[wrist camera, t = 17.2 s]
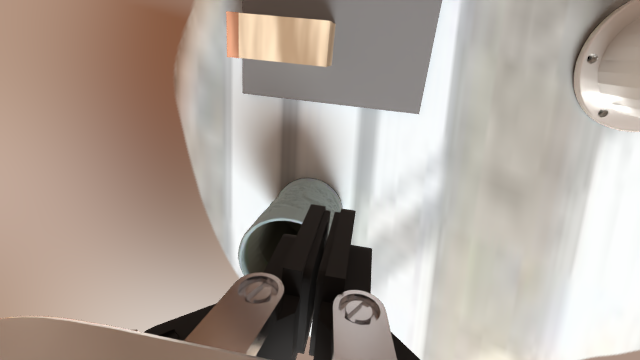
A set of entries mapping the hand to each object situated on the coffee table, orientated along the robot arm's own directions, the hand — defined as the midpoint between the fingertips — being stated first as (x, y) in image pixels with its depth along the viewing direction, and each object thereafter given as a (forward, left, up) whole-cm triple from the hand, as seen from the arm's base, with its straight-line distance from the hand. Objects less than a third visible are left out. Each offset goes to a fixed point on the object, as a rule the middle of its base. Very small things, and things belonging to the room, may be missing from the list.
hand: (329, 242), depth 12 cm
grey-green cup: (+5, +13, -27) cm, 31 cm away
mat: (+4, -7, -27) cm, 28 cm away
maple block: (+4, -7, -24) cm, 26 cm away
